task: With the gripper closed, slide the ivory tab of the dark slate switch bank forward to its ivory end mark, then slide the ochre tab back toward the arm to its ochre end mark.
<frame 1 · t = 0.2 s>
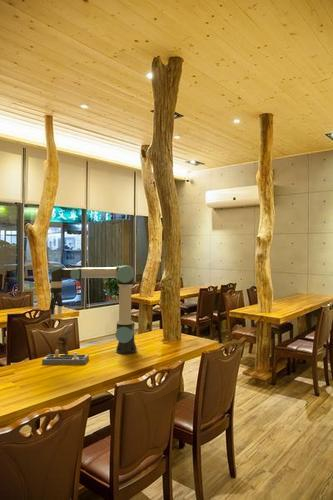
hand: (56, 317, 253), 28 cm above the table, fingers open, 13 cm apart
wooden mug: (63, 354, 258), on the table
tab ivory: (75, 356, 237), point 4 cm above the table, slide at -7.0 cm
tab ochre: (56, 353, 243), point 4 cm above the table, slide at 7.0 cm
switch bank: (66, 361, 240), on the table
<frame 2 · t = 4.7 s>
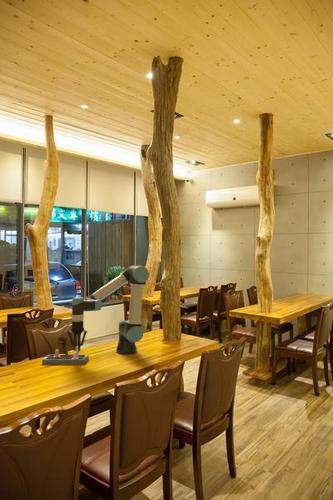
hand: (77, 356, 237), 5 cm above the table, fingers closed
tab ivory: (75, 356, 237), point 4 cm above the table, slide at -6.7 cm, touching gripper
everything else where it was.
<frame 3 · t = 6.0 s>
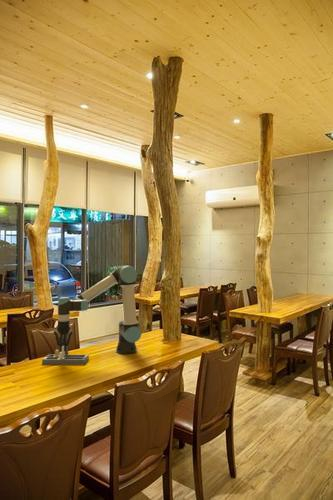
hand: (63, 355, 237), 5 cm above the table, fingers closed
tab ivory: (61, 356, 237), point 4 cm above the table, slide at 2.6 cm, touching gripper
everything else where it was.
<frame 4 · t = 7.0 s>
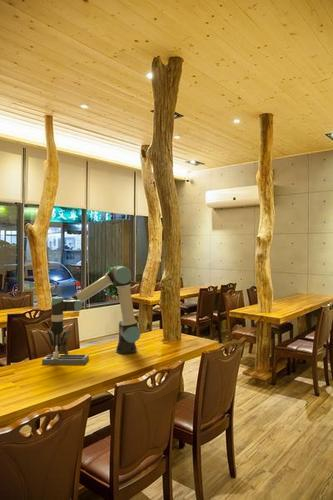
hand: (56, 356, 237), 4 cm above the table, fingers closed
tab ivory: (54, 356, 237), point 4 cm above the table, slide at 6.9 cm, touching gripper
everything else where it was.
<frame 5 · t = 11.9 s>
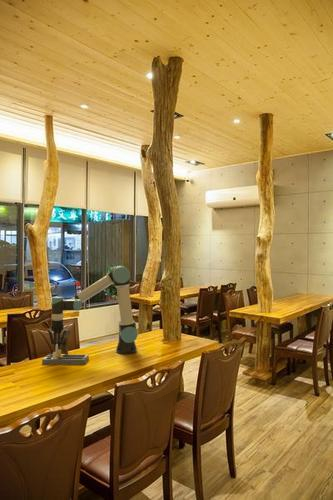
hand: (57, 354, 243), 4 cm above the table, fingers closed
tab ivory: (54, 356, 237), point 4 cm above the table, slide at 7.0 cm
tab ochre: (59, 354, 243), point 4 cm above the table, slide at 5.3 cm, touching gripper
everything else where it was.
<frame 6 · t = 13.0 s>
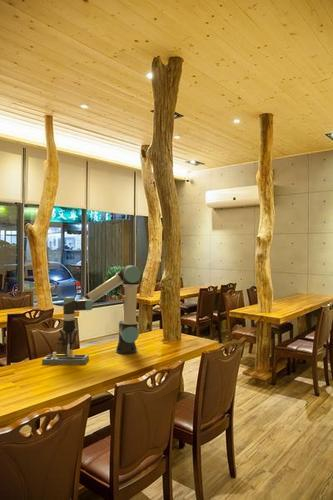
hand: (68, 354, 243), 4 cm above the table, fingers closed
tab ochre: (71, 354, 243), point 4 cm above the table, slide at -2.7 cm, touching gripper
everything else where it was.
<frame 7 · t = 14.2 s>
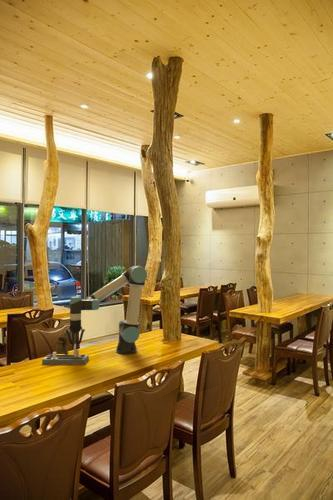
hand: (75, 353, 243), 4 cm above the table, fingers closed
tab ochre: (77, 354, 243), point 4 cm above the table, slide at -7.0 cm, touching gripper
everything else where it was.
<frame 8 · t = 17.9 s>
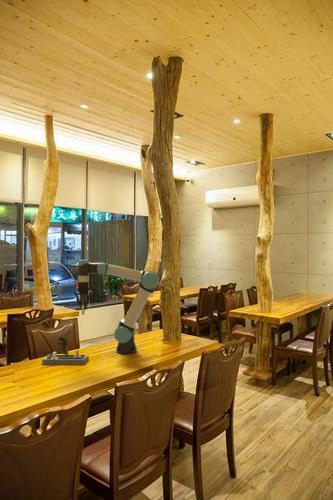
hand: (83, 314, 255), 29 cm above the table, fingers closed
tab ochre: (77, 354, 243), point 4 cm above the table, slide at -7.0 cm
everything else where it was.
at the end: tab ivory slide at 7.0 cm; tab ochre slide at -7.0 cm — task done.
